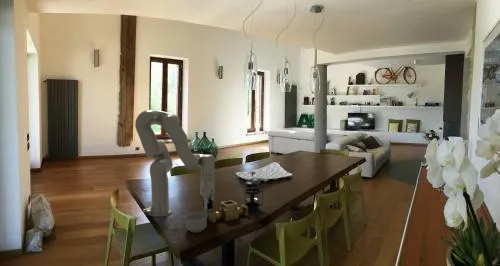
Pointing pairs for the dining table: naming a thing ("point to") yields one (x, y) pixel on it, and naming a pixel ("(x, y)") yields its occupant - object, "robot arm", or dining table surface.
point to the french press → (252, 205)
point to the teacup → (196, 221)
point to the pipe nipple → (206, 205)
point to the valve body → (228, 211)
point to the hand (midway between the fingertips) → (207, 207)
